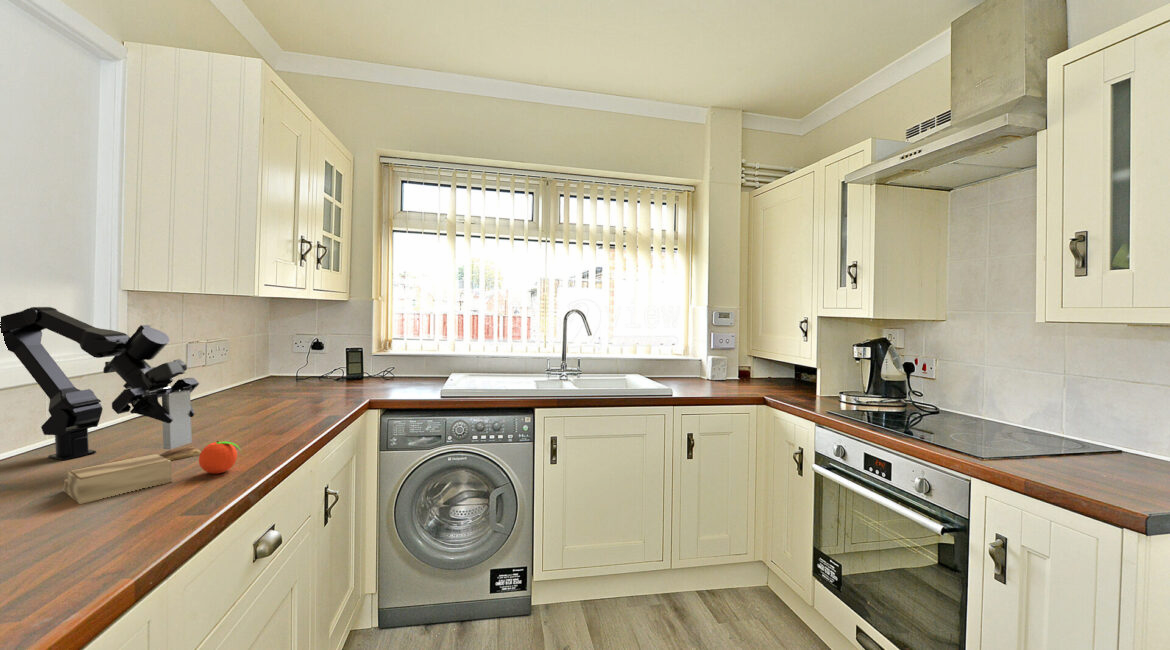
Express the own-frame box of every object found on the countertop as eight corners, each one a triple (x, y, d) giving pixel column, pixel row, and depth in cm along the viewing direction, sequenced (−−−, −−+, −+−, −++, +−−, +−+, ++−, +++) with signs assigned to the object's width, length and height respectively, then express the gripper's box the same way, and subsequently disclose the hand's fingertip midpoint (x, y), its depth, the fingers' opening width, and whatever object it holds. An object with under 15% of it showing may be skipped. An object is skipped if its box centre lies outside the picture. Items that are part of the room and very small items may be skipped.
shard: (146, 468, 116) (145, 461, 116) (135, 462, 121) (134, 455, 121) (202, 456, 125) (201, 449, 125) (189, 451, 130) (189, 444, 130)
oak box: (63, 491, 101) (62, 467, 101) (152, 471, 113) (151, 450, 113) (79, 504, 95) (78, 479, 94) (172, 482, 106) (171, 459, 106)
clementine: (248, 466, 116) (247, 435, 116) (235, 476, 110) (234, 444, 109) (208, 469, 115) (207, 438, 114) (192, 479, 108) (191, 446, 108)
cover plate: (163, 449, 120) (161, 394, 119) (184, 442, 126) (183, 390, 125) (170, 449, 120) (169, 395, 119) (191, 442, 126) (190, 390, 125)
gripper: (121, 354, 113) (170, 403, 113) (191, 346, 131) (232, 389, 131) (89, 388, 114) (138, 438, 113) (163, 376, 132) (204, 418, 132)
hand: (182, 418), depth 123 cm, fingers closed on cover plate, 6 cm apart
